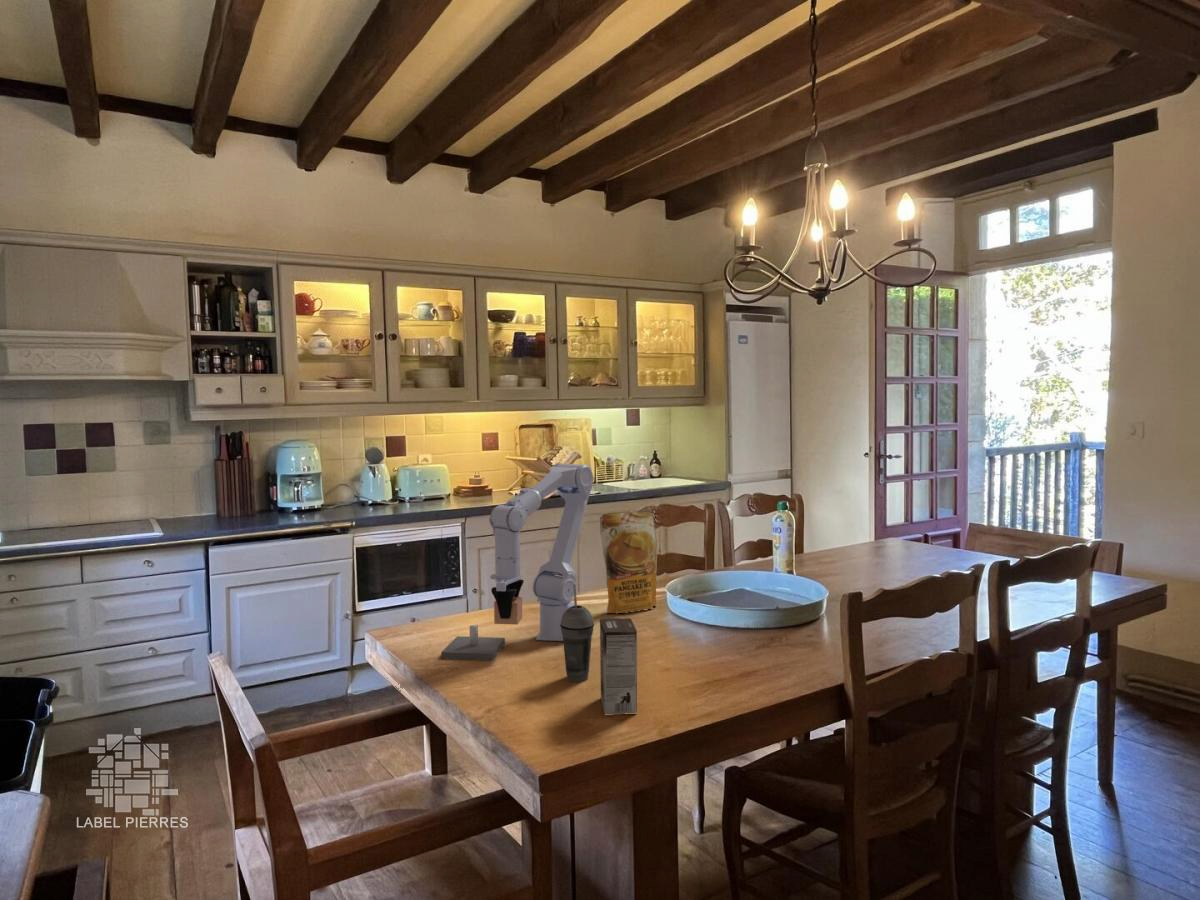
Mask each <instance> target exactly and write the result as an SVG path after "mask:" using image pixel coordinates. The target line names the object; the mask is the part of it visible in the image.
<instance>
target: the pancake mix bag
mask: <svg viewBox="0 0 1200 900" xmlns="http://www.w3.org/2000/svg"><path fill="white" fill-rule="evenodd" d="M599 525H600V526H599V527H600V536H601V542H602V543H601V544H602V553H603V560H604V564H605V571H606V572H605V573H606V574H605V575H606V577H605V578H606V589H607V596H608V600H607V601H608V603H607V608H606V614H607V613H616V614H615V615H619V614H618V613H625V614H627V613H626V612H631V611H638V610H644V609H651V608H653V606H656V607H658V606H657V605H658V604H657V599H656V598H657V583H658V581H657V571H658V570H657V569H658V566H657V565H658V554H657V550H658V546H657V545H658V544H657V543H658V541H657V532H656V523H655V517H654V513H651V510H639V511H620V512H618V511H617V512H610V513H603V514H601V516H600V517H599ZM653 609H654V608H653Z"/></svg>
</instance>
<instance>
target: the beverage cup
mask: <svg viewBox="0 0 1200 900" xmlns="http://www.w3.org/2000/svg"><path fill="white" fill-rule="evenodd" d="M573 586H574V596H573V599H574V600H573V602H574V604H575V606H572V607H570V608H568V609H567V610H566V611H565V612H564V614H563V616H562V619H561V624H560V627H561V631H562V635H563V641H562V642H563V652H564V654H563V655H564V661H565V662H564V664H565V672H566V680H568V681H569V680H570V682H575V683H581V682H580V681H582V682H586V681H587V680H589V672H590V663H591V651H592V650H591V648H592V636H593V634H594V627H595V623H594V618H593V615H592V613H591V611H589V609H588V608H586V607H585V606H582V605H578V602H577V601H578V600H577V585H576V583H575V584H574V585H573Z"/></svg>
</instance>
